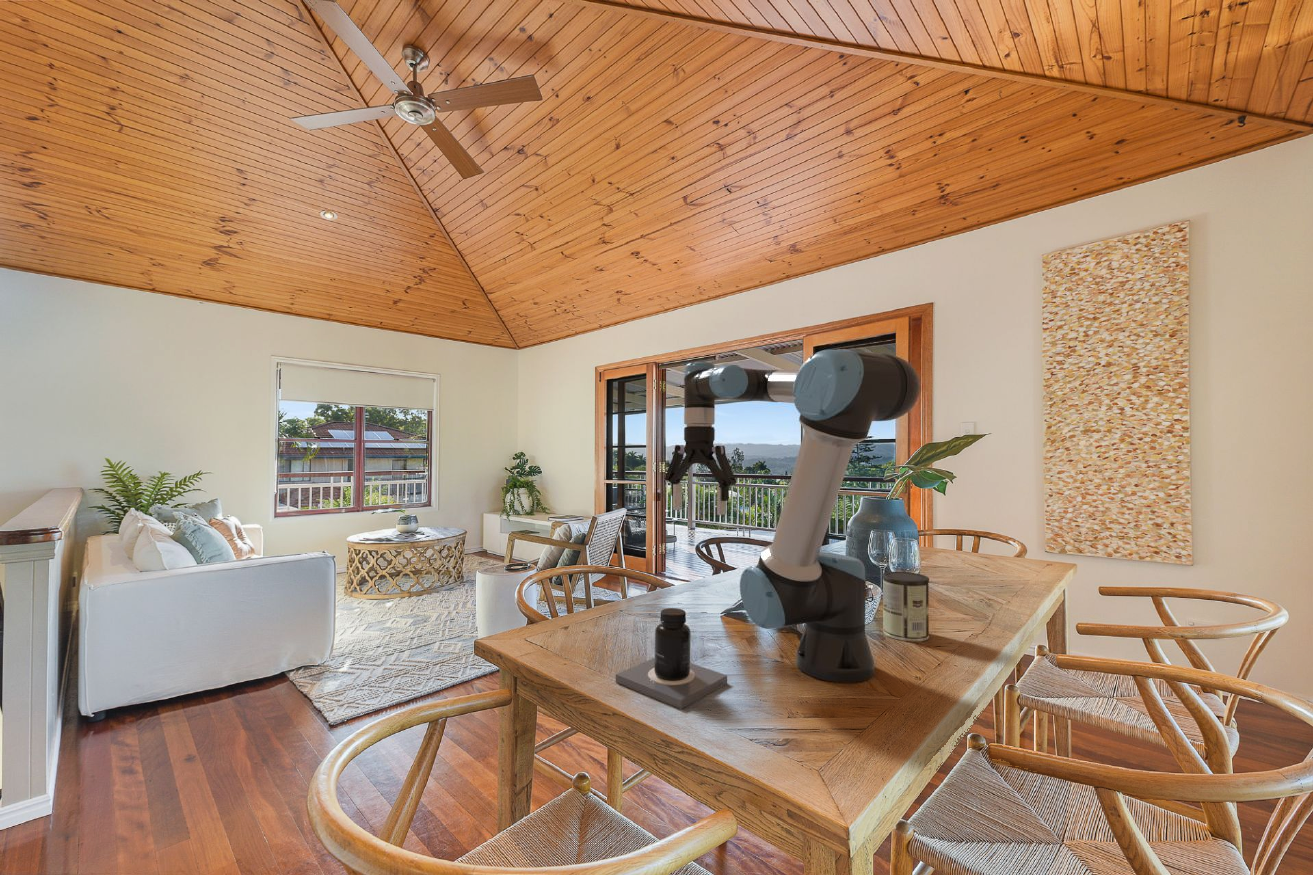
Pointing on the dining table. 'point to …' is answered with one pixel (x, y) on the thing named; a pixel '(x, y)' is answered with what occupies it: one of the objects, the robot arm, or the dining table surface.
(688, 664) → the supplement bottle
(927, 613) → the coffee can
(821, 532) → the robot arm
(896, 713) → the dining table surface
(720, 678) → the board
